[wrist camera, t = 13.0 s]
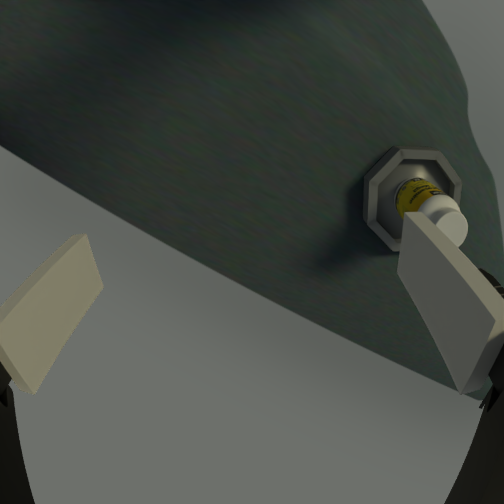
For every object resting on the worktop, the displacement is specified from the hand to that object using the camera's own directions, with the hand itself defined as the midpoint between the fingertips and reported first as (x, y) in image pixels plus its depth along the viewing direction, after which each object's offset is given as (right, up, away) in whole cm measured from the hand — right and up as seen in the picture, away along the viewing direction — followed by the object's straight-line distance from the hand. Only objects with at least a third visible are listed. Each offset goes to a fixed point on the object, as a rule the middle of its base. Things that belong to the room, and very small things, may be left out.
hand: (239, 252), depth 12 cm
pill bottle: (+22, +7, +26) cm, 35 cm away
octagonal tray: (+22, +8, +27) cm, 36 cm away
